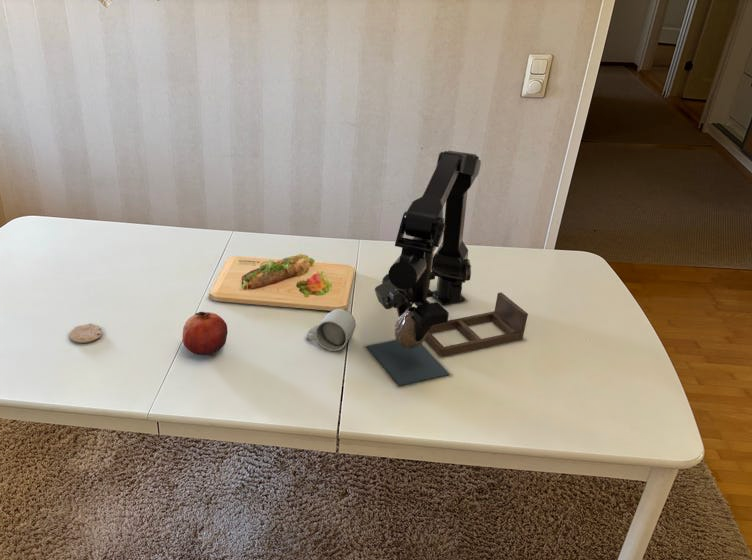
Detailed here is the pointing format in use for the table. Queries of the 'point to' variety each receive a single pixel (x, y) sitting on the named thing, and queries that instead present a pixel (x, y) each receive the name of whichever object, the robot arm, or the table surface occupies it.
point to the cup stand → (504, 317)
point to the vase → (406, 330)
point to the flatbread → (85, 333)
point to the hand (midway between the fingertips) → (410, 332)
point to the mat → (407, 362)
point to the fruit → (204, 333)
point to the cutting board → (284, 282)
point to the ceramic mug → (334, 330)
